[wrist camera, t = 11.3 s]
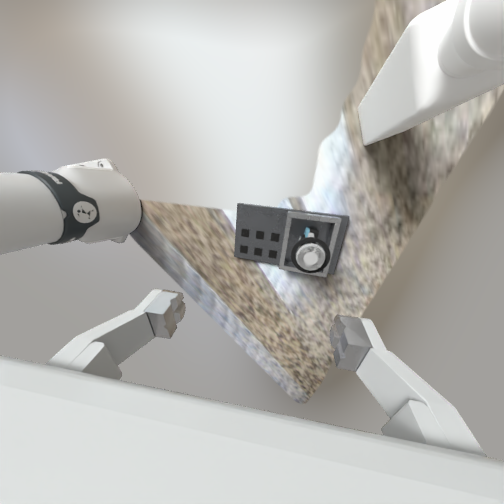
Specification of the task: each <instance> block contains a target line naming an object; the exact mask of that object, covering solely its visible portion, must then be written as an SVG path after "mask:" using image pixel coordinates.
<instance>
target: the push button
mask: <svg viewBox="0 0 504 504" xmlns="http://www.w3.org/2000/svg"><path fill="white" fill-rule="evenodd" d="M318 235H319V231H318V229H313V228H308V227H306V229H305V233H304V234H303V235H302V238H299V241H298V242H297V243H296V244H295V245H294V247H293V248H292V251H291V260H292V263H293V264H294V266H295V267H296V268H297V269H298V270H300V271H302V272H305V273H316V272H319V271H321V270H323V269H324V268H325V267H326V266H327V265H328V263H329V261H330V257H331V254H330V250H329V247H328V246H327V244H326V243H325V242H324V241H322V240H321V239H318ZM319 244H320V245H321V246H322V247H323V248H324V250H323V248H322V247H320V245H319ZM298 247H299V248H298ZM297 249H298V251H297V253H296V250H297ZM324 251H325V252H324ZM295 253H296V255H295Z"/></svg>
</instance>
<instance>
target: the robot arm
mask: <svg viewBox="0 0 504 504" xmlns="http://www.w3.org/2000/svg"><path fill="white" fill-rule="evenodd" d="M140 219H141V204H140V200H139V197H138V194H137V192H136V191H135V189H134V187H133V186H132V184H131V183H130V182H129V181H128V180H127V179H126V178H125V177H124V176H123V175H122V174H121V173H120V172H119V171H118V169H117V168H116V166H115V165H114V163H113V162H112V161H111V160H110V159H99V160H94V161H90V162H84V163H79V164H74V165H68V166H63V167H60V168H59V169H58V170H54V171H51V172H44V171H21V172H18V173H3V172H0V255H2V254H6V253H10V252H14V251H18V250H22V249H26V248H31V247H35V246H39V245H43V244H51V245H52V244H53V245H54V244H63V243H68V242H71V241H74V240H79V241H81V242H85V243H87V244H91V243H96V242H101V241H105V240H112V241H114V242H117V243H122V242H124V241H125V240H126V238H127V236H128V234H129V233H131V232H132V231H134V230H135V229H136V228H137V226H138V225H139V222H140ZM183 298H184V297H183V294H182V293H180V292H175V291H169V290H162V289H153V290H152V291H151V292H150V293H149V294H148V295H147V296H146V298H145V299H144V300H143V301H142V302H141V303H140V304H139V305H138V306H137V307H136V308H135V310H130V311H128V312H126V313H124V314H121V315H120V316H117V317H115V318H113V319H111V320H109V321H107V322H105V323H103V324H101V325H99V326H97V327H95V328H92V329H91V330H89V331H87V332H84V333H82V334H80V335H78V336H76V337H75V338H74V339H73V340H71V341H70V342H69V343H68V344H67V345H66V346H65V347H64V348H62V350H60V351H59V352H58V353H57V354H56V355H55V356H54V357H53V358H51V359H50V360H49V361H48V362H47V363H46V364H40V363H36V362H31V361H26V360H21V359H16V358H11V357H7V356H2V355H0V504H504V461H503V460H498V459H494V458H489V457H487V456H486V454H485V453H484V451H483V450H482V448H481V447H480V445H479V444H478V442H477V441H476V439H475V438H474V436H473V434H472V433H471V431H470V430H469V428H468V427H467V425H466V424H465V422H464V421H463V419H462V418H461V416H460V414H459V413H458V411H457V410H456V408H455V407H454V406H453V405H452V404H450V403H449V402H448V401H447V400H446V399H445V398H444V397H442V396H441V395H440V394H439V393H438V392H437V391H435V390H434V389H433V388H432V387H431V386H430V385H429V384H427V383H426V382H425V381H424V380H423V379H422V378H421V377H419V376H418V375H417V374H416V373H415V372H413V370H411V369H410V368H409V367H408V366H407V365H406V364H405V363H403V362H402V361H401V360H400V359H399V358H398V357H397V356H395V355H394V354H393V353H392V352H391V351H387V350H386V348H385V346H384V344H383V342H382V340H381V338H380V336H379V334H378V332H377V330H376V328H375V326H374V324H373V322H372V321H371V320H370V319H365V318H358V317H351V316H343V315H336V316H335V319H334V321H335V324H334V325H332V327H331V330H330V341H331V345H332V346H333V348H334V349H335V351H334V359H335V363H336V366H337V368H340V369H345V370H350V371H355V372H356V374H357V375H358V376H359V378H360V379H361V380H362V382H363V383H364V384H365V385H366V387H367V388H368V389H369V391H370V392H371V394H372V395H373V396H374V398H375V399H376V400H377V402H378V403H379V404H380V405H381V407H382V408H383V409H384V411H385V412H386V413H387V415H388V416H389V417H390V420H389V421H388V422H387V423H386V424H385V425H384V426H383V427H382V429H381V430H382V432H383V435H379V434H374V433H370V432H365V431H360V430H355V429H350V428H346V427H341V426H336V425H331V424H327V423H322V422H317V421H312V420H307V419H303V418H298V417H293V416H289V415H284V414H279V413H274V412H270V411H265V410H260V409H255V408H251V407H246V406H241V405H236V404H231V403H227V402H221V401H217V400H212V399H207V398H202V397H198V396H193V395H188V394H184V393H179V392H174V391H169V390H165V389H160V388H155V387H150V386H146V385H141V384H136V383H131V382H126V381H122V380H120V378H121V377H122V372H121V370H120V369H119V367H118V365H119V364H120V363H121V362H123V361H124V360H126V359H127V358H128V357H130V356H131V355H132V354H134V353H135V352H136V351H137V350H139V349H140V348H141V347H143V346H144V345H146V344H147V343H148V342H149V341H151V340H152V339H154V338H155V337H162V338H169V339H170V338H171V337H172V335H173V333H174V332H175V330H176V328H177V325H176V324H177V323H178V322H180V321H181V320H182V318H183V317H184V313H185V303H184V302H183V301H182V299H183Z"/></svg>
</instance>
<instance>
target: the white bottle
mask: <svg viewBox="0 0 504 504" xmlns="http://www.w3.org/2000/svg"><path fill="white" fill-rule="evenodd" d="M503 84H504V0H447V1H445V2H443V3H441V4H439V5H437V6H435V7H433V8H431V9H429V10H427V11H425V12H423V13H421V14H419V15H418V16H417V17H415V18H414V19H413V20H412V21H411V22H410V23H409V25H408V26H407V28H406V30H405V31H404V33H403V34H402V36H401V38H400V39H399V41H398V43H397V44H396V46H395V48H394V49H393V51H392V52H391V54H390V56H389V57H388V59H387V61H386V62H385V64H384V66H383V67H382V69H381V70H380V72H379V74H378V75H377V77H376V79H375V80H374V82H373V84H372V85H371V87H370V88H369V90H368V92H367V93H366V95H365V97H364V98H363V100H362V102H361V103H360V105H359V106H358V114H359V120H360V126H361V132H362V138H363V144H364V145H365V146H367V145H369V144H372V143H375V142H377V141H380V140H383V139H385V138H388V137H391V136H393V135H396V134H399V133H401V132H404V131H406V130H408V129H410V128H412V127H414V126H416V125H418V124H421V123H423V122H425V121H427V120H429V119H431V118H433V117H435V116H437V115H440V114H442V113H444V112H446V111H448V110H450V109H452V108H454V107H456V106H458V105H461V104H463V103H465V102H467V101H469V100H471V99H473V98H475V97H477V96H480V95H482V94H484V93H486V92H488V91H490V90H492V89H495V88H497V87H499V86H501V85H503Z"/></svg>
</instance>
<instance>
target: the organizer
mask: <svg viewBox="0 0 504 504" xmlns="http://www.w3.org/2000/svg"><path fill="white" fill-rule="evenodd" d="M348 220H349V216H344V215H336V214H327V213H319V212H311V211H302V210H294V209H286V208H277V207H269V206H260V205H252V204H244V203H238V205H237V220H236V236H235V252H234V257H239V258H244V259H250V260H256V261H261V262H267V263H272V264H278V265H279V269H282V270H288V271H293V272H299V273H304V274H310V275H315V276H321V277H327V273H329V274H334V271H335V267H336V263H337V260H338V256H339V253H340V249H341V245H342V242H343V238H344V234H345V231H346V227H347V223H348ZM306 227H308V228H313V229H318V231H319V235H318V239H321V240H322V241H324V242H325V243H326V244H327V246H328V247H329V250H330V254H331V257H330V261H329V263H328V265H327V266H326V267H325V268H324V269H323V270H321V271H319V272H316V273H305V272H302V271H300V270H298V269H297V268H296V267H295V266H294V264H293V263H292V260H291V251H292V248H293V247H294V245H295V244H296V243H297V242H298V241H299V238H302V235H303V234H304V233H305V229H306ZM319 245H320V244H319ZM320 247H322V246H321V245H320ZM298 248H299V247H298ZM322 248H323V247H322ZM323 250H324V248H323ZM297 251H298V249H297V250H296V253H297ZM324 252H325V251H324ZM296 253H295V255H296Z"/></svg>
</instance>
